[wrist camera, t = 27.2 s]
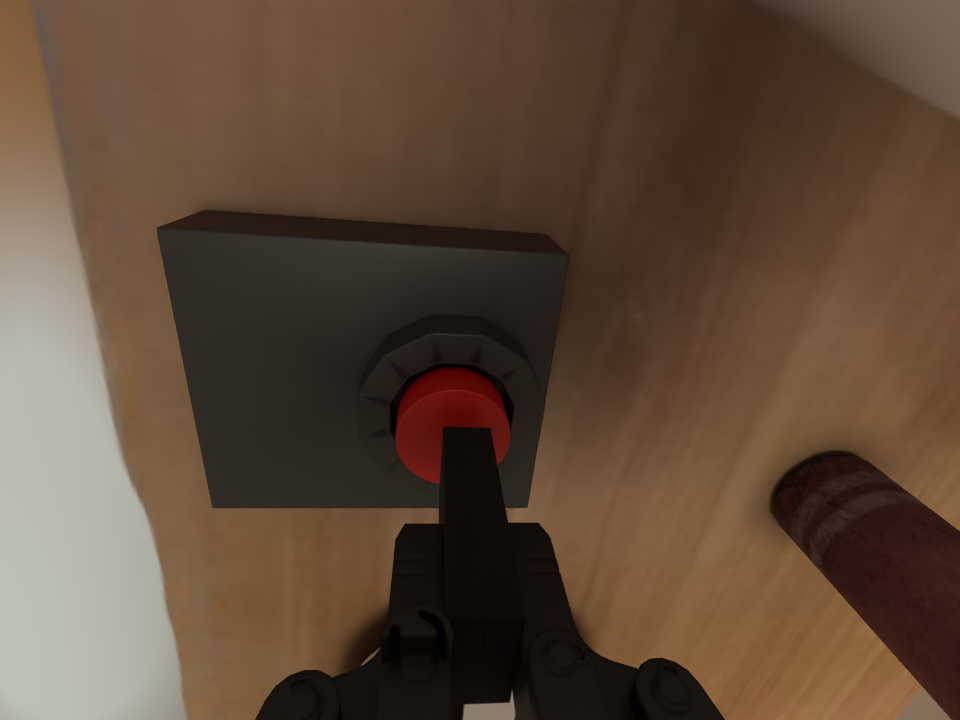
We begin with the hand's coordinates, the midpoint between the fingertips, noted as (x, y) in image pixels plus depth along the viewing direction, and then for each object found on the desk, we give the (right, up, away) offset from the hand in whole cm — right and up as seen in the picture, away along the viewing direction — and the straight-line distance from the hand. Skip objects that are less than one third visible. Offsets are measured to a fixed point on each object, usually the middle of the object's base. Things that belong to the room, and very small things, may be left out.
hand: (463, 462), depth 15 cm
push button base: (-4, +4, +7) cm, 9 cm away
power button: (-1, +1, +3) cm, 3 cm away
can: (+21, -4, +14) cm, 25 cm away
